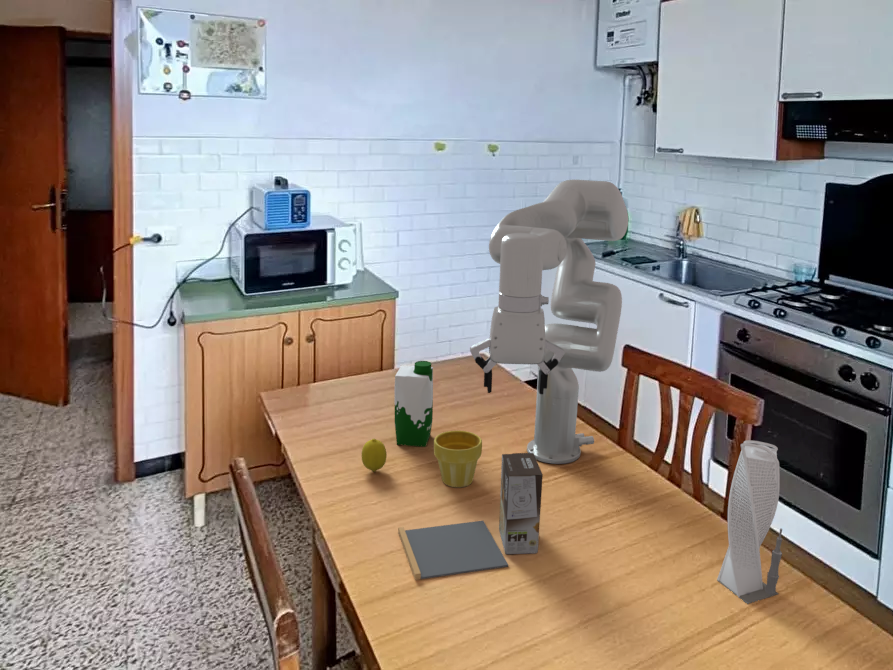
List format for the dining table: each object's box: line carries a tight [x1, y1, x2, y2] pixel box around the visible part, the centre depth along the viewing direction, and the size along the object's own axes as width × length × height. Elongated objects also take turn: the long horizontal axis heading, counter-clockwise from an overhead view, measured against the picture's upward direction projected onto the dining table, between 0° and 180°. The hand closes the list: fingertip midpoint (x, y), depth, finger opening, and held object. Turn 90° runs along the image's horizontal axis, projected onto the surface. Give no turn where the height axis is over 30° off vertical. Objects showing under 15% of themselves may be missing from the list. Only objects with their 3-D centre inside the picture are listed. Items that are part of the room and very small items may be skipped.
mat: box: [397, 520, 509, 581], centre depth 135 cm, size 17×15×1 cm
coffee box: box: [498, 452, 544, 555], centre depth 136 cm, size 9×6×16 cm
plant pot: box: [433, 430, 483, 488], centre depth 159 cm, size 10×10×10 cm
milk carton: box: [394, 360, 434, 448], centre depth 177 cm, size 9×9×20 cm
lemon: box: [361, 438, 388, 473], centre depth 162 cm, size 6×6×8 cm
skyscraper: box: [716, 439, 783, 605], centre depth 122 cm, size 8×8×28 cm
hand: (514, 391), depth 137 cm, fingers open, 9 cm apart
